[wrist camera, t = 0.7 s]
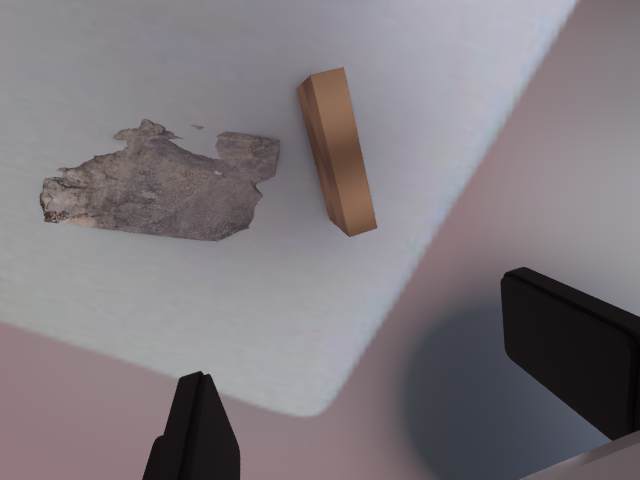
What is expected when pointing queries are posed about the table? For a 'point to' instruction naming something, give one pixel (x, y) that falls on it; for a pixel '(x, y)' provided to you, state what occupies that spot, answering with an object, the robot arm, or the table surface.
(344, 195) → the brown wooden block
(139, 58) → the table surface
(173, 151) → the stone slab
